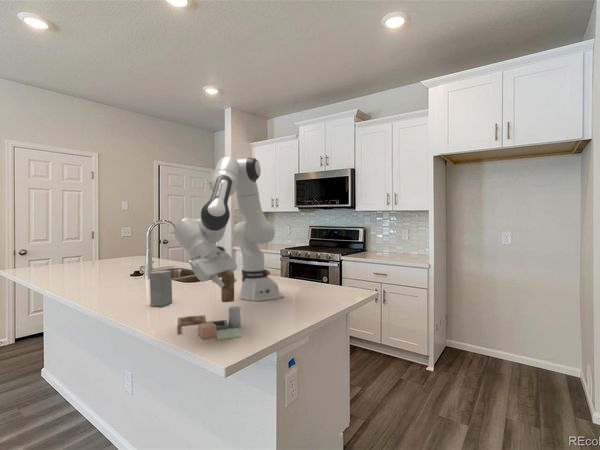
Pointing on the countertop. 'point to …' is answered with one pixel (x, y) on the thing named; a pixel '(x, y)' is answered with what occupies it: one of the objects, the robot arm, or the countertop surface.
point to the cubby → (190, 321)
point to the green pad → (228, 333)
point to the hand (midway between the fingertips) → (229, 284)
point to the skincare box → (160, 288)
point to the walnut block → (227, 287)
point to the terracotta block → (207, 330)
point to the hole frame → (221, 324)
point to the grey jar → (234, 317)
